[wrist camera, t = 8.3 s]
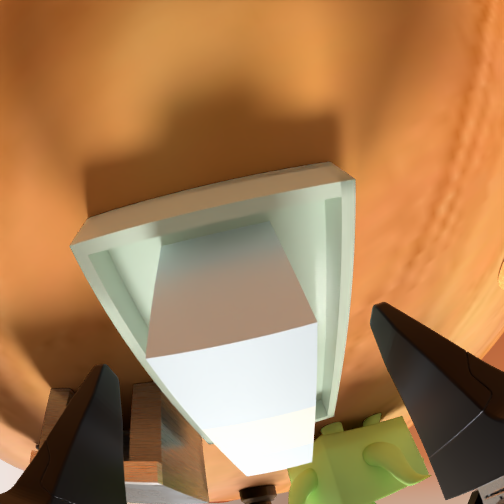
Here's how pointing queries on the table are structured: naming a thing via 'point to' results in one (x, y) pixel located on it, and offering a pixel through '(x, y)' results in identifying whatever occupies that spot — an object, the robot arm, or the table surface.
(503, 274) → the beer glass
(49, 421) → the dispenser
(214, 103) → the table surface
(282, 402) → the white square column
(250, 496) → the dark turned peg
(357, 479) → the kettle
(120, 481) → the robot arm
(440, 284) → the table surface
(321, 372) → the dish
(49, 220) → the table surface
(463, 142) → the table surface
